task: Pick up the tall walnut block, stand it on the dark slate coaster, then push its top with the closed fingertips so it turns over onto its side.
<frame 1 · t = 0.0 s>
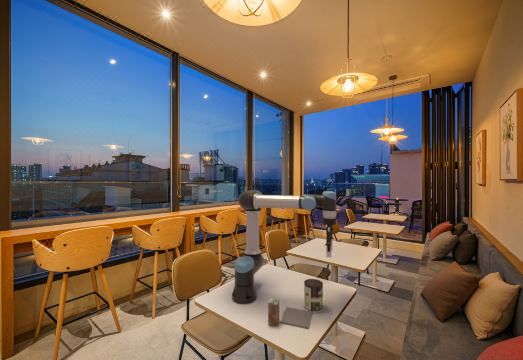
hand: (329, 253, 136), 28 cm above the table, fingers open, 13 cm apart
walnut block: (273, 323, 115), on the table
slate coaster: (296, 317, 120), on the table
coffee can: (313, 308, 129), on the table
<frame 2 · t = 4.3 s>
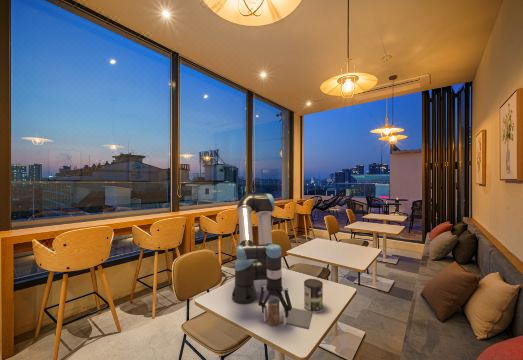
hand: (275, 321, 115), 1 cm above the table, fingers open, 9 cm apart
nothing on the table moved.
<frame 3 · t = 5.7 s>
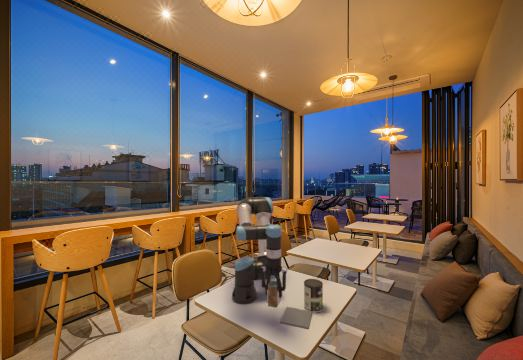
hand: (273, 302, 116), 10 cm above the table, fingers closed on walnut block, 4 cm apart
walnut block: (273, 304, 116), point 9 cm above the table, touching gripper
everything else where it was.
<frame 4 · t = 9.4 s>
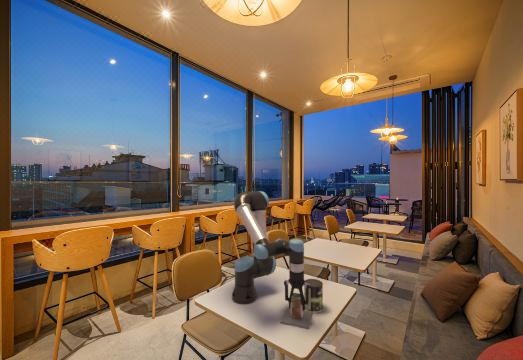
hand: (296, 315, 119), 2 cm above the table, fingers closed on walnut block, 4 cm apart
walnut block: (296, 316, 119), point 1 cm above the table, touching gripper, slate coaster
everything else where it was.
when the fingers open (1 cm above the table, at t = 10.0 s): walnut block stays where it is, resting on slate coaster.
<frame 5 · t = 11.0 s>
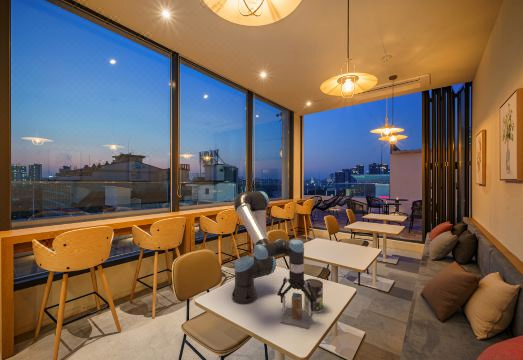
hand: (296, 311, 119), 3 cm above the table, fingers open, 13 cm apart
walnut block: (296, 316, 119), point 1 cm above the table, touching slate coaster
everything else where it was.
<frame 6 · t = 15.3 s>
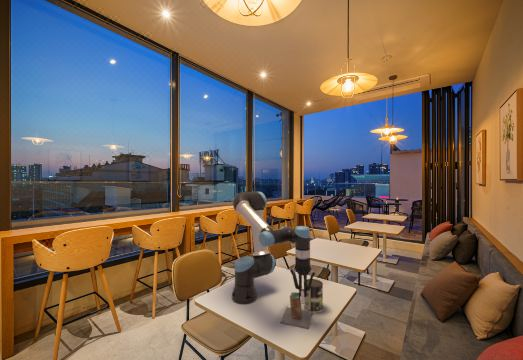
hand: (302, 302, 119), 8 cm above the table, fingers closed
walnut block: (296, 316, 119), point 1 cm above the table, tilted 5°, touching slate coaster
everything else where it was.
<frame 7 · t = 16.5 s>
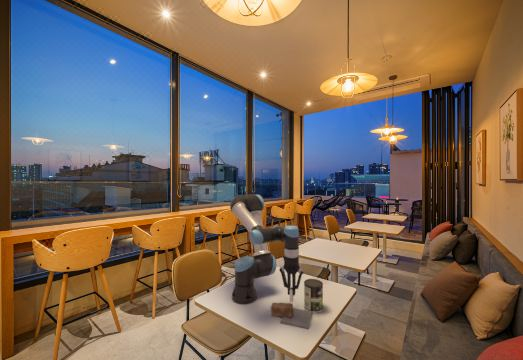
hand: (291, 300, 121), 8 cm above the table, fingers closed
walnut block: (292, 310, 120), point 4 cm above the table, tilted 98°, touching slate coaster
everything else where it was.
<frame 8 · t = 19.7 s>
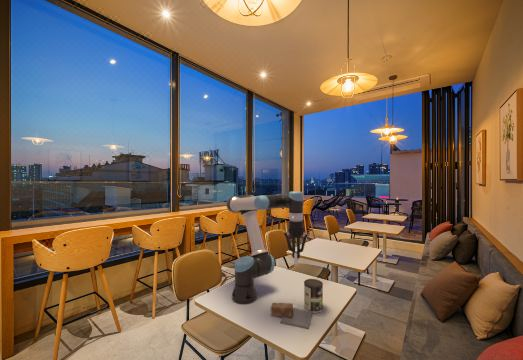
hand: (296, 264, 124), 26 cm above the table, fingers closed
nothing on the table moved.
at the end: walnut block tilted 98°; walnut block inside the target area (1.8 cm from its centre), point 3.7 cm above the table; the gripper is holding nothing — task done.
